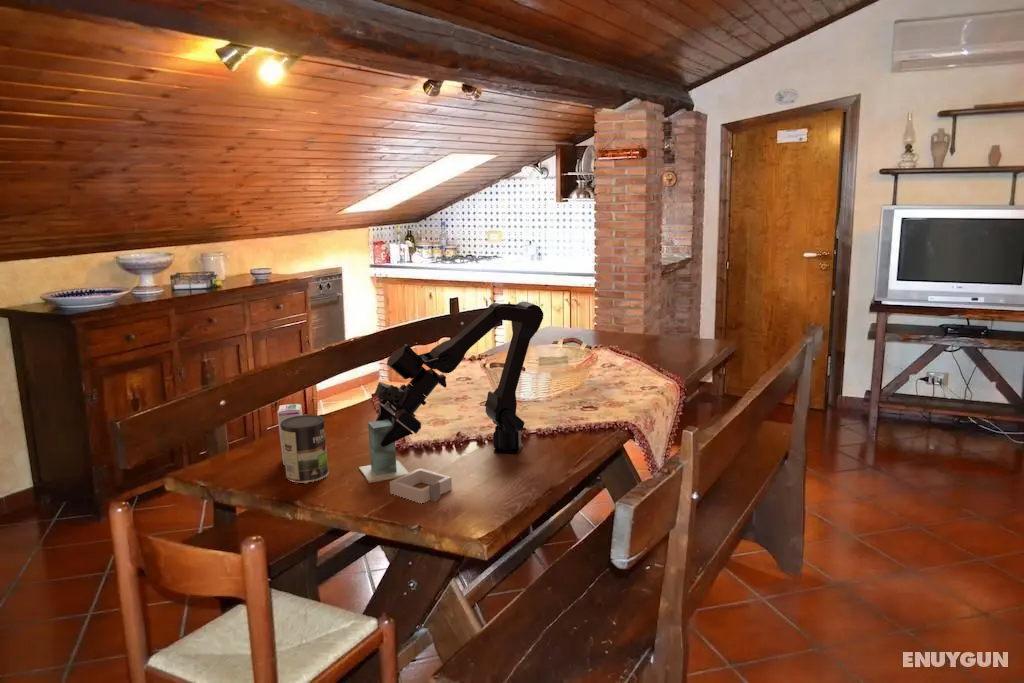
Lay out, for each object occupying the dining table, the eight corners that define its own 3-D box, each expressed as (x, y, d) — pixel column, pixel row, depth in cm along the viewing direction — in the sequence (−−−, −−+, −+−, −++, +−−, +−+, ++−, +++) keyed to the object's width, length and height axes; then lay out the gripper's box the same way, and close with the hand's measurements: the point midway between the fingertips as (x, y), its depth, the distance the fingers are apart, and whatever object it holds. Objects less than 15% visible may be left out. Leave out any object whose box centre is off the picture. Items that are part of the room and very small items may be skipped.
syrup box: (306, 463, 202) (301, 409, 198) (282, 465, 200) (276, 411, 197) (307, 455, 207) (302, 402, 204) (283, 457, 206) (278, 404, 203)
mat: (397, 461, 201) (397, 460, 201) (409, 475, 192) (409, 473, 192) (359, 468, 197) (359, 467, 197) (369, 482, 188) (369, 480, 188)
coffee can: (335, 468, 198) (331, 414, 194) (318, 485, 188) (313, 428, 185) (296, 467, 199) (291, 413, 196) (278, 483, 189) (272, 427, 186)
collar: (420, 479, 189) (419, 464, 188) (456, 490, 182) (455, 474, 181) (390, 494, 181) (389, 477, 180) (426, 505, 174) (425, 488, 174)
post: (390, 465, 198) (387, 419, 195) (396, 471, 193) (393, 425, 190) (371, 468, 196) (368, 422, 193) (376, 475, 191) (373, 428, 188)
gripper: (383, 362, 199) (343, 410, 197) (405, 379, 182) (361, 432, 180) (415, 388, 204) (376, 435, 202) (439, 407, 187) (396, 459, 185)
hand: (376, 440), depth 192 cm, fingers open, 9 cm apart
